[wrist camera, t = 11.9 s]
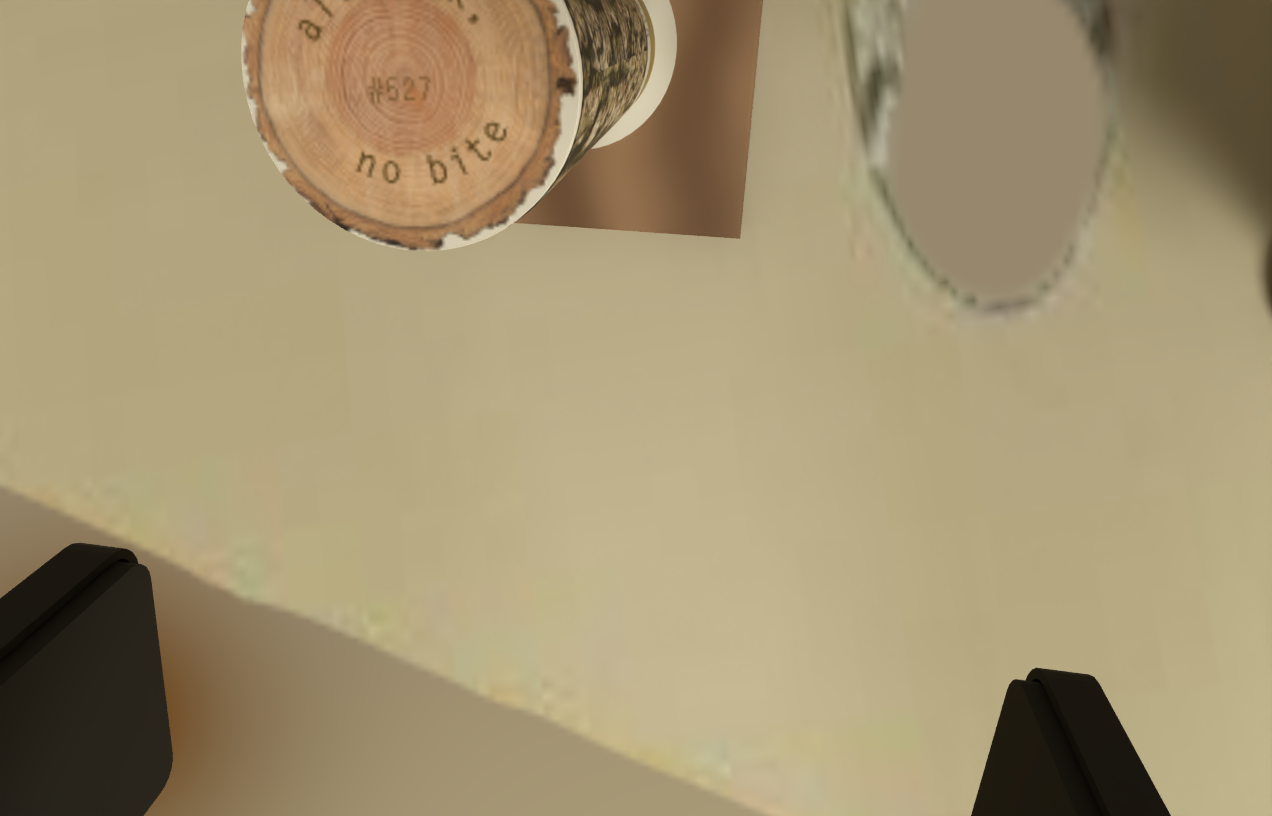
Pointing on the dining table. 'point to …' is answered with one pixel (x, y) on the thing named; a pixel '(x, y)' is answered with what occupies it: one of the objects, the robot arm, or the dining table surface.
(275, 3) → the bark print can
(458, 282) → the dining table surface
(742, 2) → the board
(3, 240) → the dining table surface
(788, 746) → the dining table surface
